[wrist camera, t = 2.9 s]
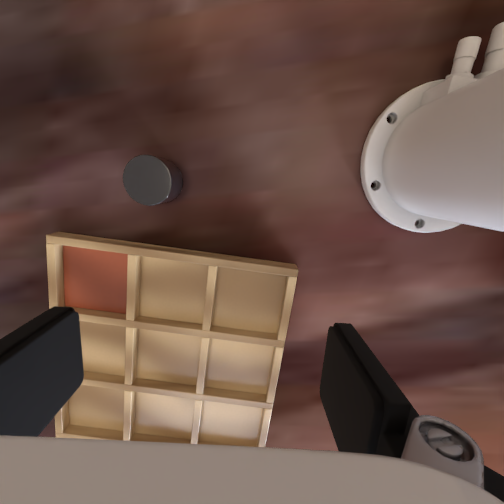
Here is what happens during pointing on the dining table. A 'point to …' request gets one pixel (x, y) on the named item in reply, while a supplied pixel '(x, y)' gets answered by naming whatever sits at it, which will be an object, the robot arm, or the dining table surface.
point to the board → (171, 340)
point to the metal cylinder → (152, 180)
